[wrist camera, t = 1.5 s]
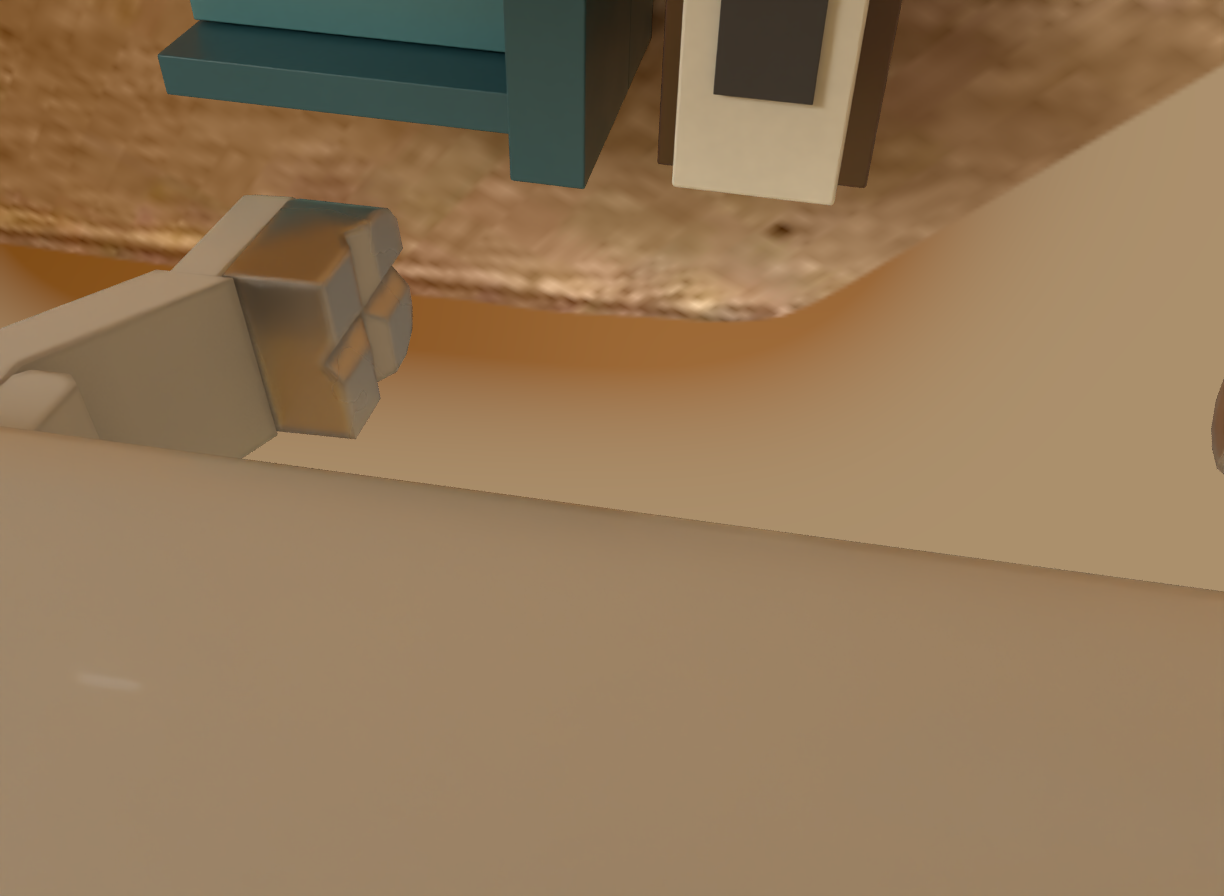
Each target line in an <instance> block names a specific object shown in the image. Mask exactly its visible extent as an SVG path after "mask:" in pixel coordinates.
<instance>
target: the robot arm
mask: <svg viewBox="0 0 1224 896" xmlns="http://www.w3.org/2000/svg"><path fill="white" fill-rule="evenodd" d="M402 249H403V247H402V242H401V237H400V232H399V227H398V222H397V219H396V218H395V216H394V215H393V214H392V213H391V211H390V210H389V209H388V208H380V207H371V206H361V205H352V204H343V203H334V202H325V201H316V200H307V199H295V198H293V197H283V196H267V195H246V196H243V197H242V198H241V199H240V200H239V201H238V202H237V203H236V204H235V205H234V206H233V207H232V208H231V209H230V210H229V211H228V212H227V213H226V214H225V215H224V216H223V217H222V218H221V219H220V220H219V221H218V223H217V224H216V225H215V226H214V227H213V228H212V229H211V230H210V231H209V232H208V233H207V234H206V235H205V236H204V237H203V238H202V239H201V240H200V241H199V242H198V243H197V244H196V245H195V246H194V247H193V248H192V249H191V250H190V251H189V252H188V253H187V254H186V256H185V257H184V258H183V259H182V260H181V261H180V262H179V263H178V264H177V265H176V266H175V267H174V268H173V269H172V270H171V271H163V270H155V271H152V272H149V273H147V274H144V275H141V276H139V277H136V278H133V279H131V280H128V281H125V282H123V283H120V284H117V285H115V286H112V287H109V288H107V289H104V290H101V291H99V292H96V293H93V294H91V295H88V296H85V297H83V298H80V299H77V300H75V301H72V302H70V303H67V304H64V305H62V306H59V307H56V308H53V309H51V310H48V311H45V312H43V313H40V314H38V315H35V316H32V317H30V318H27V319H24V320H22V321H19V322H16V323H14V324H11V325H8V326H6V327H3V328H0V896H1224V592H1223V591H1216V590H1209V589H1201V588H1194V587H1186V586H1179V585H1172V584H1164V583H1157V582H1149V581H1142V580H1135V579H1127V578H1120V577H1112V576H1104V575H1097V574H1090V573H1083V572H1075V571H1068V570H1060V569H1053V568H1045V567H1038V566H1031V565H1023V564H1016V563H1009V562H1001V561H994V560H986V559H979V558H972V557H964V556H957V555H950V554H942V553H934V552H927V551H920V550H913V549H905V548H898V547H890V546H883V545H876V544H868V543H860V542H853V541H846V540H839V539H831V538H824V537H816V536H809V535H801V534H793V533H787V532H779V531H772V530H765V529H757V528H750V527H742V526H735V525H728V524H720V523H712V522H705V521H698V520H690V519H683V518H676V517H669V516H661V515H653V514H646V513H638V512H632V511H624V510H617V509H609V508H602V507H594V506H587V505H580V504H572V503H565V502H558V501H550V500H543V499H536V498H528V497H521V496H514V495H506V494H499V493H491V492H483V491H477V490H469V489H461V488H455V487H454V488H453V487H446V486H440V485H432V484H425V483H418V482H410V481H403V480H395V479H388V478H381V477H373V476H366V475H359V474H351V473H344V472H336V471H329V470H322V469H314V468H307V467H299V466H292V465H284V464H277V463H270V462H262V461H255V460H248V459H242V458H243V457H245V456H246V455H248V454H249V453H251V452H253V451H254V450H256V449H257V448H259V447H260V446H262V445H263V444H265V443H266V442H268V441H269V440H271V439H272V438H274V437H275V436H277V431H281V432H290V433H300V434H310V435H320V436H330V437H340V438H350V439H356V438H357V436H358V435H359V433H360V431H361V430H362V428H363V426H364V425H365V423H366V421H367V420H368V418H369V417H370V415H371V413H372V412H373V410H374V408H375V407H376V405H377V403H378V402H379V400H380V394H379V388H378V383H377V382H379V381H380V380H382V379H384V378H386V377H388V376H390V375H392V374H394V373H396V372H397V370H398V368H399V366H400V365H401V363H402V361H403V359H404V358H405V356H406V354H407V349H408V345H409V340H410V336H411V332H412V301H411V295H410V288H409V285H408V284H407V283H406V282H405V281H404V279H403V278H402V277H401V276H400V275H399V274H398V272H397V271H396V270H395V269H394V268H393V267H392V264H393V263H394V261H395V260H396V258H397V257H398V255H399V254H400V252H401V250H402ZM1211 432H1212V450H1213V454H1214V458H1215V462H1216V466H1217V469H1219V470H1220V471H1221V472H1222V473H1223V474H1224V380H1223V383H1222V385H1221V388H1220V391H1219V393H1218V396H1217V399H1216V404H1215V410H1214V416H1213V422H1212V428H1211Z"/></svg>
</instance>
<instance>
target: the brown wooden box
mask: <svg viewBox="0 0 1224 896" xmlns="http://www.w3.org/2000/svg"><path fill="white" fill-rule="evenodd" d="M683 3H684V0H666V9H665V28H664V47H663V65H662V84H661V103H660V122H659V140H658V159H657V161H658V164H664V165H672V166H673V159H674V144H675V128H676V112H677V97H678V81H679V65H680V50H681V34H682V18H683ZM901 3H902V0H869V6H868V12H867V17H866V23H865V29H864V35H863V40H862V46H861V52H860V58H859V63H858V69H857V75H856V81H855V86H854V92H853V98H852V104H851V110H850V115H849V121H848V127H847V133H846V138H845V144H844V150H843V156H842V161H841V167H840V173H839V179H838V184H837V185H842V186H850V187H859V188H865V187H866V185H867V180H868V174H869V169H870V164H871V159H872V154H873V149H874V143H875V138H876V133H877V128H878V123H879V117H880V112H881V107H882V102H883V97H884V92H885V86H886V81H887V76H888V71H889V66H890V60H891V55H892V50H893V45H894V40H895V35H896V29H897V24H898V19H899V14H900V9H901Z"/></svg>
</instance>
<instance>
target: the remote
mask: <svg viewBox="0 0 1224 896" xmlns="http://www.w3.org/2000/svg"><path fill="white" fill-rule="evenodd" d="M868 6H869V0H684V3H683V18H682V34H681V50H680V65H679V81H678V97H677V112H676V128H675V144H674V159H673V175H672V184H673V186H675V187H681V188H689V189H697V190H706V191H714V192H722V193H731V194H739V195H747V196H756V197H764V198H772V199H781V200H789V201H797V202H806V203H814V204H822V205H833V203H834V202H835V196H836V190H837V184H838V179H839V173H840V167H841V161H842V156H843V150H844V144H845V138H846V133H847V127H848V121H849V115H850V110H851V104H852V98H853V92H854V86H855V81H856V75H857V69H858V63H859V58H860V52H861V46H862V40H863V35H864V29H865V23H866V17H867V12H868Z"/></svg>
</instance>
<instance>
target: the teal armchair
mask: <svg viewBox="0 0 1224 896" xmlns="http://www.w3.org/2000/svg"><path fill="white" fill-rule="evenodd" d="M190 2H191V7H192V11H193V15H194V19H196V20H200V21H198V22H197V23H196V24H195V25H193V26H192V27H191V28H190V29H188V30H187V31H186V32H185V33H184V34H182V35H181V36H180V37H179V38H177V39H176V40H175V41H174V42H173V43H171V44H170V45H169V46H168V47H166V48H165V49H164V50H163V51H162V52H160V53H159V54H158V59H159V63H160V67H161V71H162V75H163V79H164V83H165V87H166V91H167V93H168V94H171V95H180V96H189V97H197V98H206V99H214V100H223V101H232V102H240V103H249V104H257V105H266V106H275V107H283V108H292V109H300V110H309V111H318V112H326V113H335V114H343V115H352V116H361V117H369V118H378V119H386V120H395V121H404V122H412V123H421V124H429V125H438V126H447V127H455V128H464V129H472V130H481V131H490V132H498V133H507V134H509V154H510V178H511V180H514V181H522V182H530V183H538V184H546V185H555V186H563V187H571V188H579V189H584V188H585V186H586V184H587V182H588V179H589V177H590V175H591V173H592V170H593V168H594V166H595V164H596V161H597V159H598V157H599V155H600V152H601V150H602V148H603V146H604V143H605V141H606V139H607V137H608V134H609V132H610V130H611V128H612V125H613V123H614V121H615V119H616V116H617V114H618V112H619V110H620V107H621V105H622V103H623V100H624V98H625V96H626V94H627V91H628V89H629V87H630V85H631V82H632V80H633V78H634V76H635V73H636V71H637V69H638V67H639V64H640V62H641V60H642V58H643V55H644V53H645V51H646V49H647V46H648V44H649V42H650V40H651V33H652V12H653V0H190Z"/></svg>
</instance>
